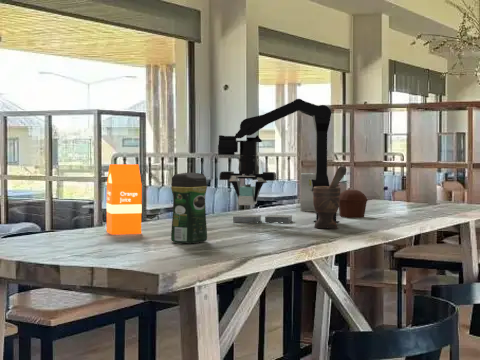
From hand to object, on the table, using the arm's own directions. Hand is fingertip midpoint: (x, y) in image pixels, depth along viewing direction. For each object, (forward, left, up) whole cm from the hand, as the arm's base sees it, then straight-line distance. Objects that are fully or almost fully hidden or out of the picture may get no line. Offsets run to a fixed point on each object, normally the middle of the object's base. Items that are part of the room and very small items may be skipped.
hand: (247, 201), depth 268 cm
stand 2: (-6, -9, -7) cm, 13 cm away
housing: (0, 0, -1) cm, 1 cm away
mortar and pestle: (-31, -9, -7) cm, 33 cm away
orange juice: (-7, +52, -7) cm, 53 cm away
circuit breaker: (+25, -53, -7) cm, 59 cm away
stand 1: (0, 0, -7) cm, 7 cm away
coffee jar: (-36, +49, -7) cm, 61 cm away
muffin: (-5, -46, -7) cm, 47 cm away
